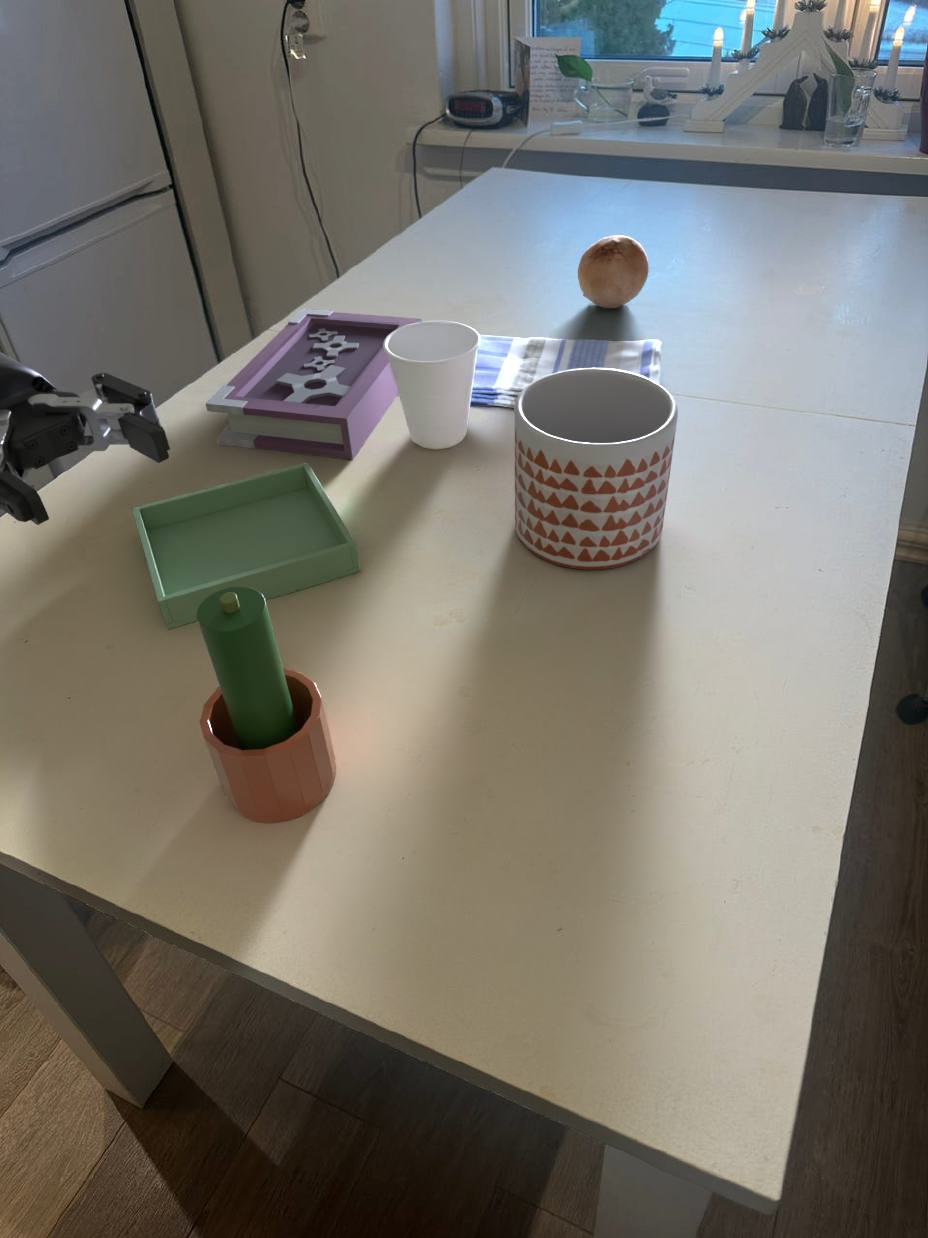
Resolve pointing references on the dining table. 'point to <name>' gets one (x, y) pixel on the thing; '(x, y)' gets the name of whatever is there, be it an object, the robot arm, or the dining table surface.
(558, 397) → the planter
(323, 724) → the crock
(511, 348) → the dish towel
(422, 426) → the cup
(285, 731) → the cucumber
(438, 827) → the dining table surface
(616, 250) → the onion
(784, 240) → the dining table surface
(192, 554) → the tray
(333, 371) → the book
